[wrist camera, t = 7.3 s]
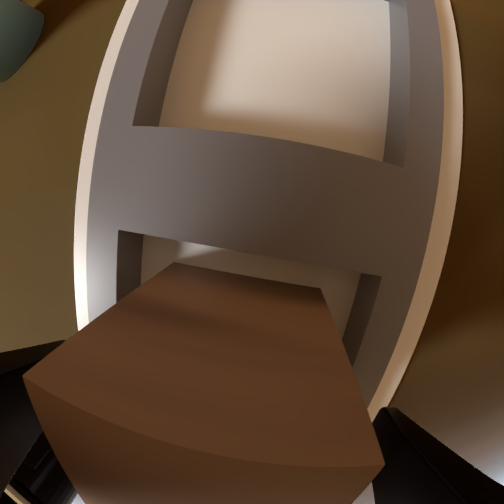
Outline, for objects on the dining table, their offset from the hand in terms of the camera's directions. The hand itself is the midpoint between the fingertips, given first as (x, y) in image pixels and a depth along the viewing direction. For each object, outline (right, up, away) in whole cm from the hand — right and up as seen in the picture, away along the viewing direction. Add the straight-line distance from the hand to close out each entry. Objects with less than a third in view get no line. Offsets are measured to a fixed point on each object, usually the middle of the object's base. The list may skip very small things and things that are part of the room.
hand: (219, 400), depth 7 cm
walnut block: (0, +1, +3) cm, 3 cm away
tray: (+1, +6, +3) cm, 7 cm away
